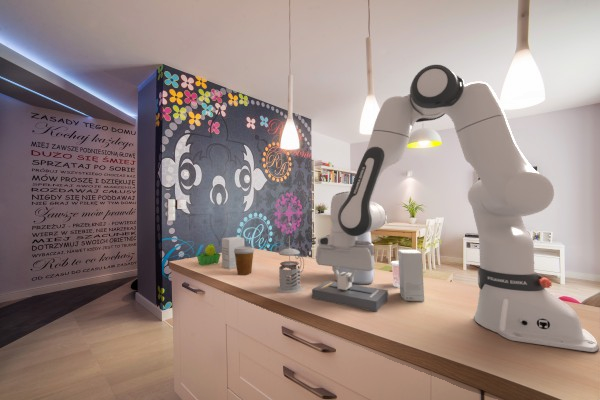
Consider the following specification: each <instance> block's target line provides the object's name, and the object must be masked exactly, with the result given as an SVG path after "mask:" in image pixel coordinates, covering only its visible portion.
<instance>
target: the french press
mask: <svg viewBox="0 0 600 400" xmlns="http://www.w3.org/2000/svg"><path fill="white" fill-rule="evenodd" d="M290 226H291V227H292V223H291V222H286V227H290ZM290 239H291V238H290V237H288V248H284V249H282V250H280V251H279V252H278V254H279V255H280V256H284V257H285V256H286V257H289V260H288V261H281V262H280V263H279V264H280V266H279V271H278V273H279V286H278V287H277V288H276V291H278V293H282V294H295V293H301V291H303V289H304V288H303V287H302V286H301V273H303V271H304V268H305V259H304V257H303V256H302V255H301V252H300V251H299V250H298V249H296V248H291V247H290V246H291V245H290V243H291V242H290ZM291 256H295V259H297V260H298V259H299V261H303V265H300V266H299V264H300V263H299V262H298V261H291V258H290V257H291ZM301 258H302V259H301ZM302 266H303V267H302ZM301 268H302V270H301Z"/></svg>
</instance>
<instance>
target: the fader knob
mask: <svg viewBox="0 0 600 400" xmlns="http://www.w3.org/2000/svg"><path fill="white" fill-rule="evenodd" d="M351 274H352V273H348V272H342V273H340V274H339V275H337V280H336V282H338V289H342V290H347V289H348V288H350V287H351V286H352V284H353V283H352V282H348V276H351Z"/></svg>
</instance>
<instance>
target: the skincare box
mask: <svg viewBox="0 0 600 400" xmlns="http://www.w3.org/2000/svg"><path fill="white" fill-rule="evenodd" d="M397 255H398V258H397V259H398V261H399V280H400V288H399V294H400V295H401V298H402V299H403V301H405V302H425V289H424V287H425V286H424V269H423V253H422V252H421V251H419V250H417V249H400V250H398V249H397Z"/></svg>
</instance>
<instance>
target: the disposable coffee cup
mask: <svg viewBox="0 0 600 400" xmlns="http://www.w3.org/2000/svg"><path fill="white" fill-rule="evenodd" d="M254 252H255V249H254V246H251V245H250V246H249V245H245V246H241V247H236V248H235V249H234V253H235V259H236V266H237V268H236V274H237V275H239V276H247V275H250V274H252V270H253V262H254V261H253V258H254Z"/></svg>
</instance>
